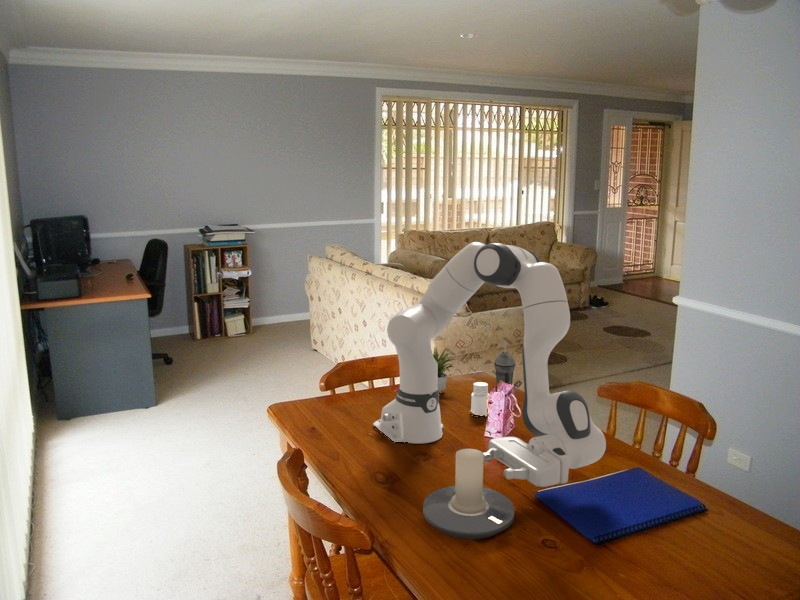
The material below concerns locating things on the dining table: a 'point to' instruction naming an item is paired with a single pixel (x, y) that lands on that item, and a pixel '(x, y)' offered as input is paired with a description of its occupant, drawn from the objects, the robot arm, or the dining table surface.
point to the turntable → (469, 525)
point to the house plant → (442, 368)
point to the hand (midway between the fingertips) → (493, 466)
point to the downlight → (479, 398)
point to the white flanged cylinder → (469, 482)
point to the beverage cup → (504, 367)
